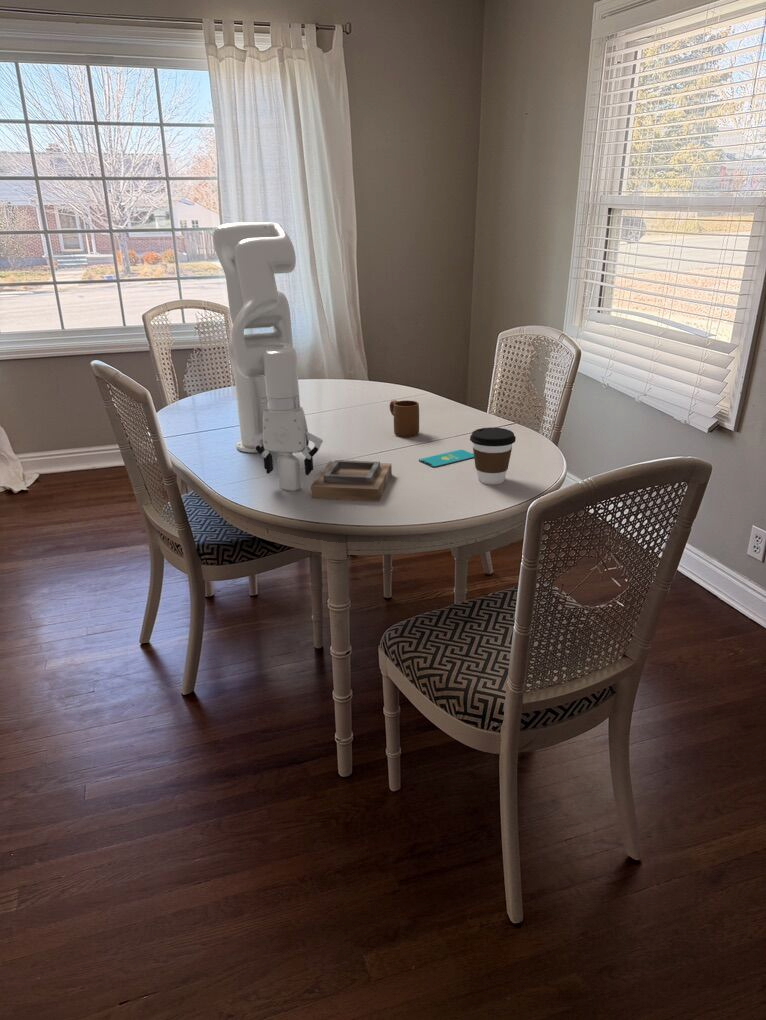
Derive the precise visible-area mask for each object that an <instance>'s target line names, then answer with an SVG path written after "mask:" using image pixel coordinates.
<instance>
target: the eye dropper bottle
mask: <svg viewBox="0 0 766 1020" xmlns="http://www.w3.org/2000/svg"><path fill="white" fill-rule="evenodd" d="M276 462H277V474H278V483H279V484H278V486H279V488H280V489H282V490H286V491H291V492H292V491H293V492H295V491H298V490H300V489H302V481H301V466H300V460H299V458H298V457H297V456H296V455H294V453H288V452H281V455H280V456H278V457H277V461H276Z"/></svg>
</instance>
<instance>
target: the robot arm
mask: <svg viewBox="0 0 766 1020" xmlns="http://www.w3.org/2000/svg"><path fill="white" fill-rule="evenodd" d="M212 233H213V234H212V242H213V246H214V247H213V248H214V251H215V254H216V257H217V259H218V261H219V263H220V265H221V267H222V271H223V273H224V276H225V283H226V289H227V290H226V291H227V300H228V308H229V315H230V321H231V323H232V327H231V328H232V329H231V340H230V341H229V342H228V348H227V350H228V356H229V359H230V363H231V368H232V372H233V377H234V385H235V394H236V402H237V410H238V411H237V412H238V421H239V431H240V440H239V441H237V443H236V444H235V446H236V449H237V450H238V451H241V452H244V453H249V454H250V453H251V454H252V453H253V454H254V453H256V454H257V453H258V454H260V455H261V457H262V458H263V466H264V470H266V474H267V475H268V474H269V475H270V474H271V473H272V472H273V471H274V462H273V461H274V460H273V454H272V453H282V452H288V453H293V454H294V453H295V454H296V453H297V454H298V453H299V454H300V453H302V455H303V456H304V457H305V459H304V461H303V463H304V474H305V476H309V475H310V474H311V473H312V472H313V470H314V460H313V458H314V456H315V455H316V454H317V452H319V451H320V448H321V446H322V444H323V441H324V440H323V439H322V438H320V437H319V436H317V435H314V434H312V433H310V432H309V430H308V424H307V419H306V415H305V412H304V408H303V406H301V402H300V401H301V400H300V399H301V398H300V386H299V372H298V359H297V358H298V357H297V352H296V349H295V348H294V342H293V333H292V332H293V331H292V320H291V310H290V304H289V301H288V298H287V297H286V295H285V294H284V293H283V292H281V291H279V290H278V288H277V287H278V286H277V282H276V278H275V277H276V276H275V274H277V275H279V274H290V273H292V272H294V270H295V268H296V265H297V264H296V263H297V257H296V252H295V247H294V245H293V242H292V239H291V238H290V236H289V235H288V233H287V231H285V228H283V227H282V225H281V224H279V223H278V222H274V221H272V222H271V221H264V222H263V221H262V222H261V221H259V222H256V221H255V222H248V221H247V222H230V223H222V224H220V225H218V226H216V227H215V228H214V230H213V232H212ZM268 328H270V329H273V332H263V333H261V332H259V333H247V334H245V330H256V329H257V330H258V329H268ZM310 442H312V443H313V444H314V446H313V447H312V449H311V447H310V446H309V444H310Z"/></svg>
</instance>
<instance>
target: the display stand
mask: <svg viewBox="0 0 766 1020" xmlns="http://www.w3.org/2000/svg"><path fill="white" fill-rule="evenodd" d="M392 467H393V466H392V463H387V462H385V463H384V462H381V461H370V460H369V461H368V460H366V461H365V460H363V461H362V460H361V461H360V460H342V459H341V460H339V459H337V460H336V459H335V460H334V461H333V460H332V461H331V460H329V461H328V463H327V464H326V465H325V467H324V468H323V470H322V471H321V472H320V473H319V475H318V476H317V477H316V478H315V480H314V481H313V483H312V484H311V485H310V496H311V497H310V498H311V499H321V500H339V501H340V500H341V501H342V500H343V501H360V502H362V501H363V502H379V501H380V499H381V497H382V496H383V493H384V491H385V489H386V487H387V486H388V483H389V481H390V479H391V477H392V475H393V473H392V470H393V469H392Z"/></svg>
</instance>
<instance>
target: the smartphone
mask: <svg viewBox="0 0 766 1020" xmlns="http://www.w3.org/2000/svg"><path fill="white" fill-rule="evenodd" d="M471 459H474V453H471V452H469V451H467V450H465V449H457V450H453V451H449V452H448V451H447V452H444V453H440V454H435V455H432V456H427V457H423V458H419V459H418V462H419V463H421V464H423V465H425V466H428V467H430V468H434V469H435V468H440V467H443V466H448V465H452V464H456V463H459V462H464V461H468V460H471Z"/></svg>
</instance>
